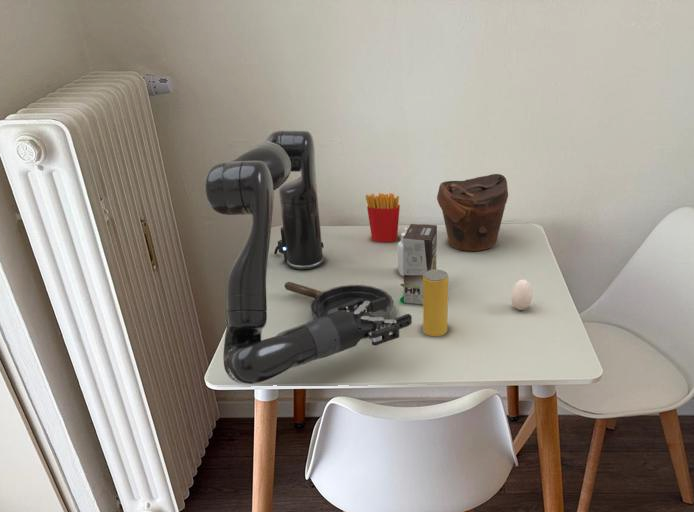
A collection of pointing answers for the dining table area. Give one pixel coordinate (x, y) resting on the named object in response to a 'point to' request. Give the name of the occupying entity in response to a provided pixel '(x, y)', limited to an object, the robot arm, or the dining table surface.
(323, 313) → the pan
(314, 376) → the dining table surface
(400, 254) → the eye dropper bottle
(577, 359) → the dining table surface
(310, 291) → the pan handle
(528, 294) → the egg
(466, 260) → the dining table surface
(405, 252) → the coffee box
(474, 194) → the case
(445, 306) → the can
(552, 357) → the dining table surface
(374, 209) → the french fries
